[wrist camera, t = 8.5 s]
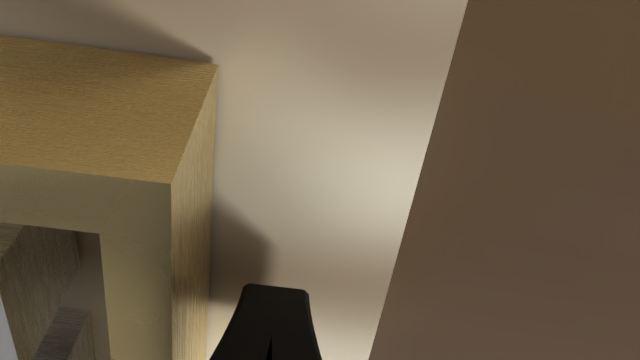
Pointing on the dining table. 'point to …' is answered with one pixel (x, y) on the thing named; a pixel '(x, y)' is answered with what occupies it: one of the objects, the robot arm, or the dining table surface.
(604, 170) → the dining table surface
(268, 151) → the board
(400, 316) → the dining table surface
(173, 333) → the tan wooden arch piece
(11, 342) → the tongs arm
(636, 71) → the dining table surface
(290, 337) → the robot arm
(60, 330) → the grey long bar
